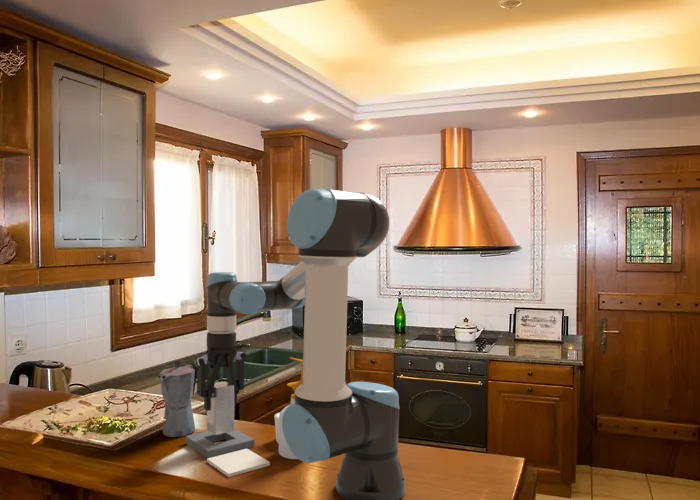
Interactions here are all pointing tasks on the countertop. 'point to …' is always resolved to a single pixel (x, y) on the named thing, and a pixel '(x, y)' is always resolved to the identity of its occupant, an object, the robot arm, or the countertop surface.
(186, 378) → the moka pot
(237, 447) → the socket frame
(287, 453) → the soap bottle
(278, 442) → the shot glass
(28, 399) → the countertop surface
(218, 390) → the steel peg
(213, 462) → the pad
